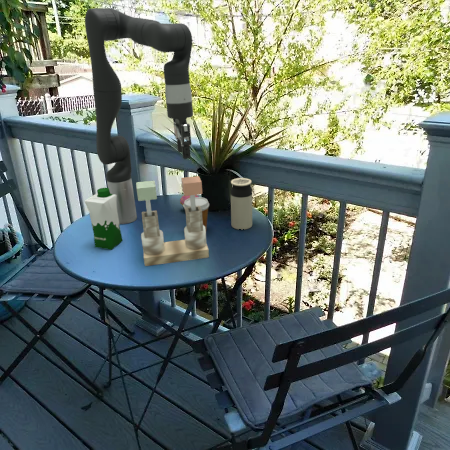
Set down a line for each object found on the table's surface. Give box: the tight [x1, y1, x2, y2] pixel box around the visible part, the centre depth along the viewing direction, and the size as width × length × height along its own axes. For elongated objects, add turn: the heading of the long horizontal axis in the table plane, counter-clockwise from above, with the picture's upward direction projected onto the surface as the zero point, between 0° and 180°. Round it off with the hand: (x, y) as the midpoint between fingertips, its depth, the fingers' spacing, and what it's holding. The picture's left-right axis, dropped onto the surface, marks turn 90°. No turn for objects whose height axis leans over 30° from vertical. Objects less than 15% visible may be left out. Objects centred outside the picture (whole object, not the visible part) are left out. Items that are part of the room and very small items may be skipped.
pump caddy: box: [140, 206, 210, 267], centre depth 131 cm, size 21×9×16 cm, turn 102°
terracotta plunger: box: [181, 175, 203, 211], centre depth 127 cm, size 6×6×11 cm
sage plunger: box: [135, 180, 158, 216], centre depth 125 cm, size 6×6×11 cm
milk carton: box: [84, 187, 123, 251], centre depth 139 cm, size 9×9×20 cm
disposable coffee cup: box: [182, 196, 210, 230], centre depth 148 cm, size 10×10×12 cm
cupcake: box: [179, 195, 200, 206], centre depth 165 cm, size 9×8×12 cm
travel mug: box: [230, 177, 253, 230], centre depth 149 cm, size 8×8×18 cm
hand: (184, 155), depth 123 cm, fingers open, 8 cm apart
